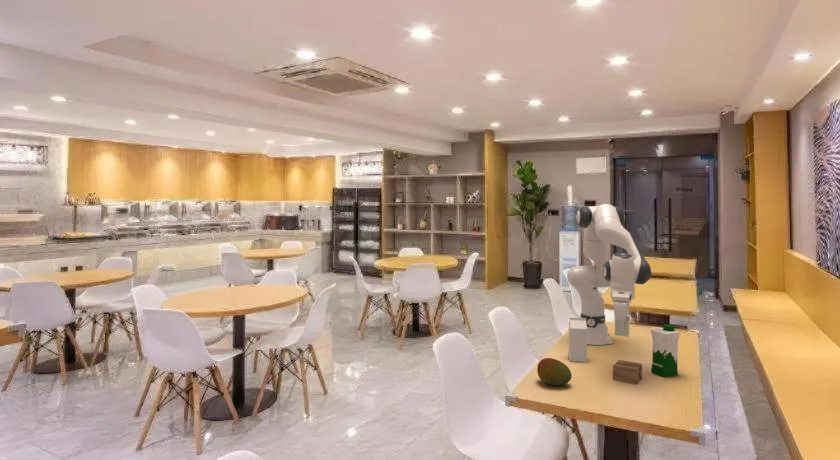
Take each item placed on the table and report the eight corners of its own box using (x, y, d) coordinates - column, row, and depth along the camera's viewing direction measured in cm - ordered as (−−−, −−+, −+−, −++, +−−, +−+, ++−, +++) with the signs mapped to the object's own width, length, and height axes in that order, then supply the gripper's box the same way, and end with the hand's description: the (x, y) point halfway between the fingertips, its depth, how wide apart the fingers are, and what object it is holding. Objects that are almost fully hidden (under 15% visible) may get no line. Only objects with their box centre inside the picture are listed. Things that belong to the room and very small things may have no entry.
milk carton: (586, 362, 215) (587, 319, 214) (570, 361, 216) (570, 319, 216) (584, 357, 222) (585, 316, 221) (568, 356, 223) (568, 315, 222)
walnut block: (618, 374, 200) (618, 359, 200) (641, 378, 195) (642, 363, 195) (612, 380, 193) (613, 365, 193) (637, 384, 188) (637, 369, 187)
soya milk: (681, 375, 197) (682, 327, 197) (665, 378, 194) (666, 329, 193) (662, 369, 205) (663, 322, 205) (647, 372, 202) (648, 324, 201)
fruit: (534, 378, 194) (534, 354, 194) (566, 379, 194) (566, 354, 194) (541, 389, 183) (541, 363, 182) (574, 389, 182) (575, 363, 182)
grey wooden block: (615, 332, 198) (616, 315, 198) (629, 334, 196) (629, 316, 195) (614, 335, 193) (614, 317, 193) (628, 336, 191) (628, 318, 191)
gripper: (616, 289, 205) (616, 322, 205) (611, 296, 187) (611, 332, 187) (633, 290, 202) (632, 323, 202) (629, 298, 184) (628, 334, 184)
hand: (622, 328), depth 194 cm, fingers closed on grey wooden block, 5 cm apart
